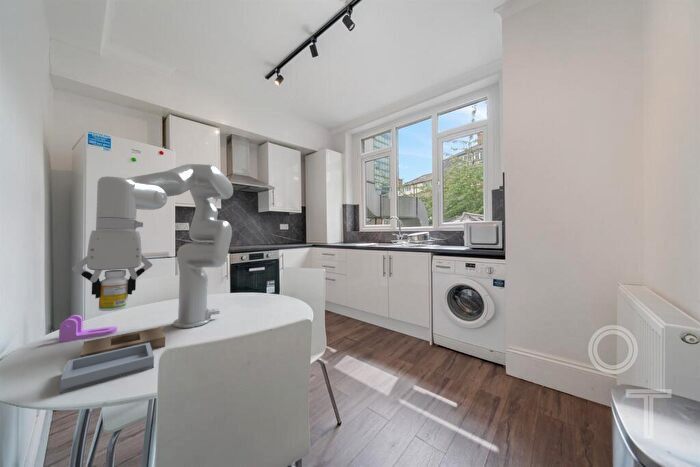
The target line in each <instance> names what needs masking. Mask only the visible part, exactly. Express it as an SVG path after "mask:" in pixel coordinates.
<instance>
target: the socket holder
mask: <svg viewBox="0 0 700 467" xmlns="http://www.w3.org/2000/svg"><path fill="white" fill-rule="evenodd" d="M145 343H150V345H151V348H152V350H155V349H159V347H160V348H164V347H166V335H165V334H164V331H163V329H162V327H161V326H159V327H153V328H149V329H143V330H138V331H132V332H127V333H123V334H122V333H121V334H116V335H109V336H106V337H105V336H104V337H102V338H101V337H100V338H96V339H91V340H84V341H83V345H82V348H81V351H80V354H79V355H80V357H79V358H82V357H86V356H91V355H95V354H100V353H104V352H109V351H113V350H118V349H122V348H127V347H132V346H136V345H141V344H145Z"/></svg>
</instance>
